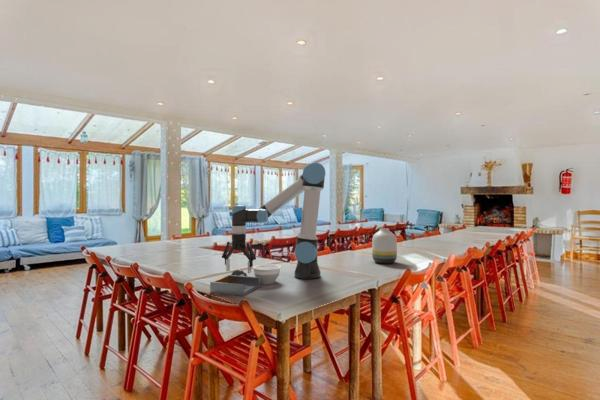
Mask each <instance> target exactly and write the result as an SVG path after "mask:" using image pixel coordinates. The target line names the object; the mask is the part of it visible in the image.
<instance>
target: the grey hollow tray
mask: <svg viewBox="0 0 600 400" xmlns="http://www.w3.org/2000/svg"><path fill="white" fill-rule="evenodd" d="M209 286H210V287H209V290H210V291H209V292H210V293H213V294H215V293H217V294H221V295H222V294H223V295H230V296H231V295H232V296H241V297H244V296H246V295H248V294H249V293H252V292H254V291H256V290H257V289H259V288H261V283H260V277H255V276H248V275H247V276H236V275H231V274H227V275H225V276H222V277H219V278H218V279H215V280H213V281H210V282H209Z"/></svg>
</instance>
